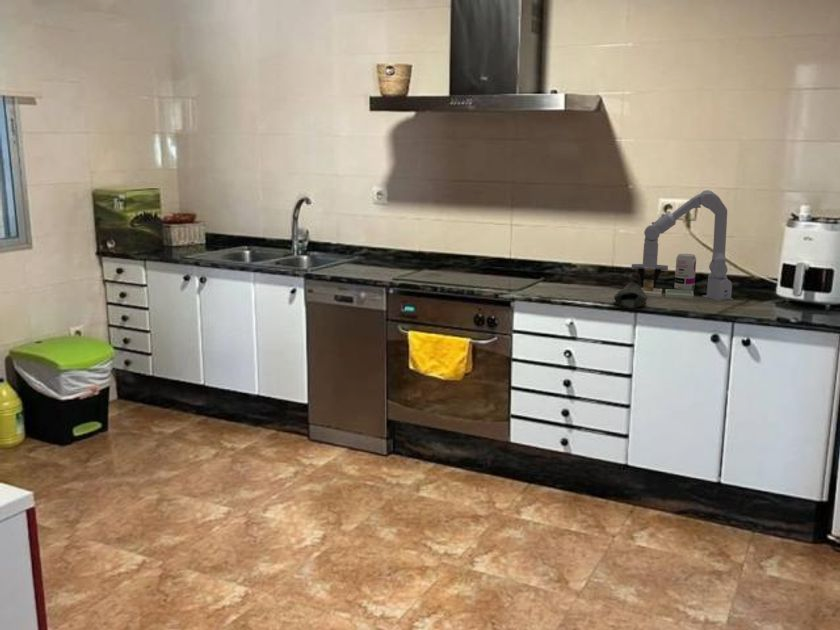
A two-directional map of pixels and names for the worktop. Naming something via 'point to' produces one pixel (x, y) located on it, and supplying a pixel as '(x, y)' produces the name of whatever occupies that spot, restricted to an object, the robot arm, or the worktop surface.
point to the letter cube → (648, 285)
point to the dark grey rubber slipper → (631, 296)
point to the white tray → (653, 292)
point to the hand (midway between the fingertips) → (648, 286)
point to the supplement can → (685, 271)
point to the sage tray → (679, 294)
